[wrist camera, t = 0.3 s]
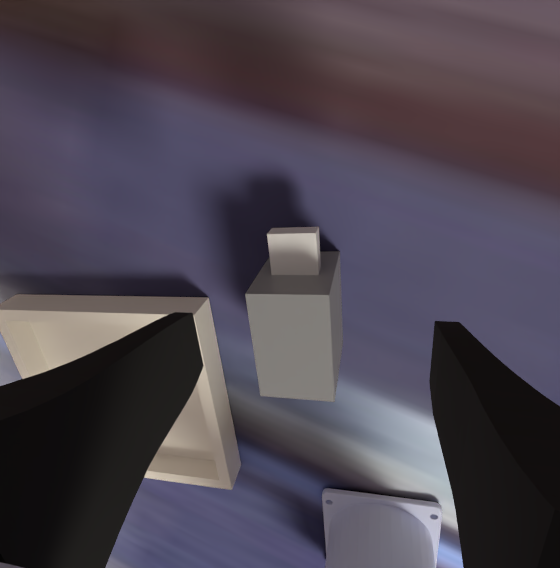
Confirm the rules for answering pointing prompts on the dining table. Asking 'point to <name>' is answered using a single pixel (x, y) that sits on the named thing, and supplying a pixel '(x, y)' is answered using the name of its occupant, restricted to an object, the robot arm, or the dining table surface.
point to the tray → (111, 327)
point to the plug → (297, 317)
